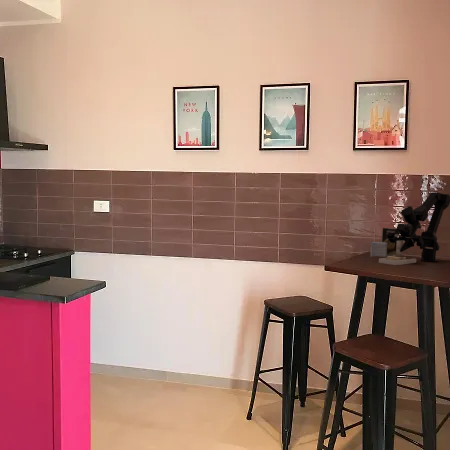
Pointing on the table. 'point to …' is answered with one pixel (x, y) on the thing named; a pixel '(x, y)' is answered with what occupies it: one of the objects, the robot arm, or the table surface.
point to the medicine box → (378, 249)
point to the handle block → (397, 252)
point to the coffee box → (390, 245)
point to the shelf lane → (399, 262)
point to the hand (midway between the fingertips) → (397, 251)
